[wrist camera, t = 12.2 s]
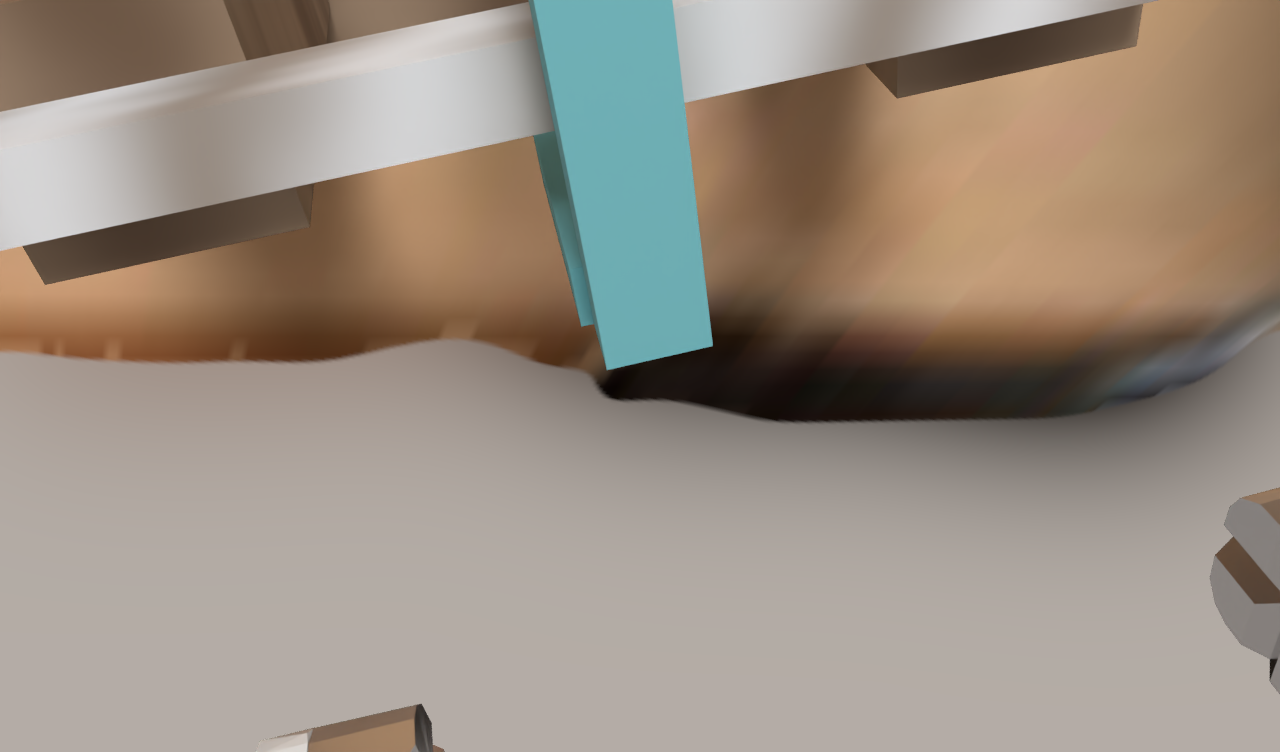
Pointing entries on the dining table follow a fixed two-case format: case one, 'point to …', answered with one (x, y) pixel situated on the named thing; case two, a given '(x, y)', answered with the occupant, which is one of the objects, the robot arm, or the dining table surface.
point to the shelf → (317, 22)
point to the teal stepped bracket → (622, 175)
